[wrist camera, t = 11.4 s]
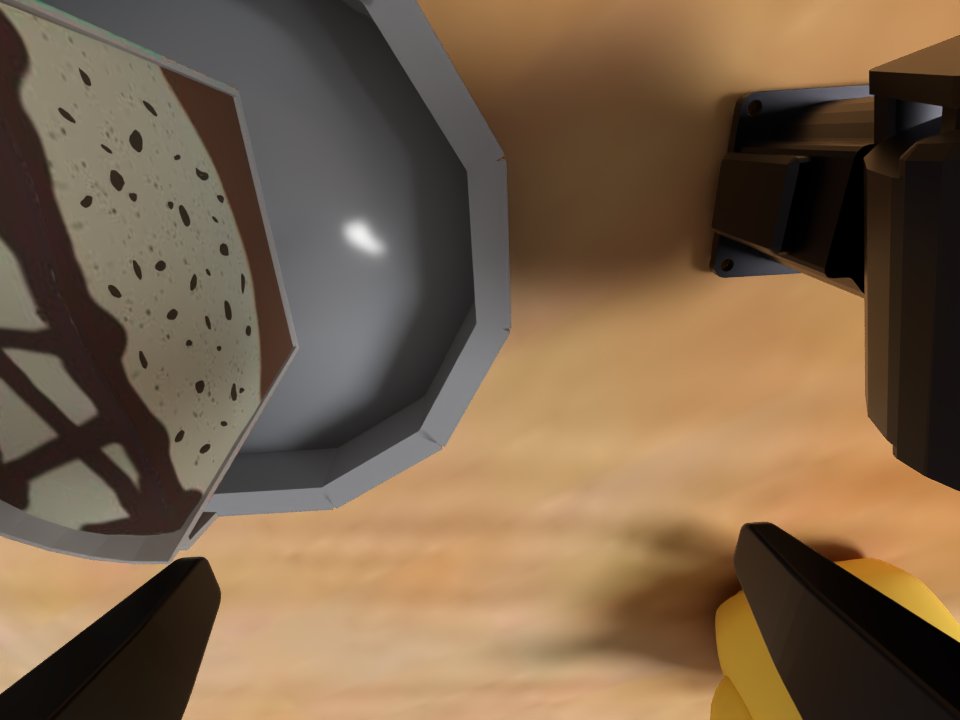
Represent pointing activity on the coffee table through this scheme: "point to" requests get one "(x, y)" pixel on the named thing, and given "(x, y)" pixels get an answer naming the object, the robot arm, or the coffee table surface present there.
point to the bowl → (352, 230)
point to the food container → (125, 291)
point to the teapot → (749, 667)
